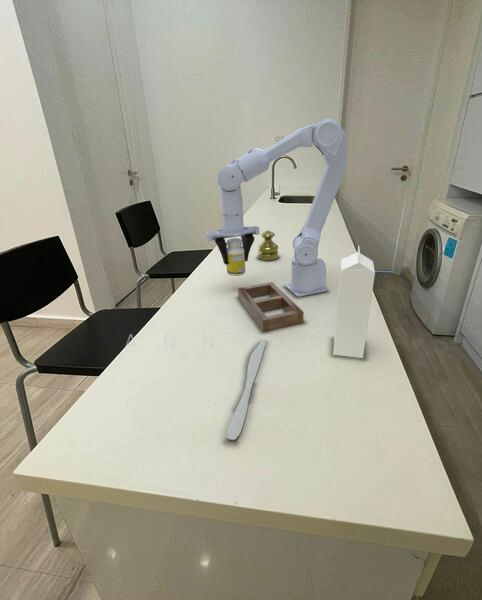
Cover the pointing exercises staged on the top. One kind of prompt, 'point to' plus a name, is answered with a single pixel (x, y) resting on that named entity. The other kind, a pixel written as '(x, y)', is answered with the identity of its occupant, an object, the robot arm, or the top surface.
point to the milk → (353, 305)
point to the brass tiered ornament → (268, 247)
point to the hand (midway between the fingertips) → (235, 261)
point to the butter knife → (245, 393)
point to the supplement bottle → (235, 257)
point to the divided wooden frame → (270, 306)
